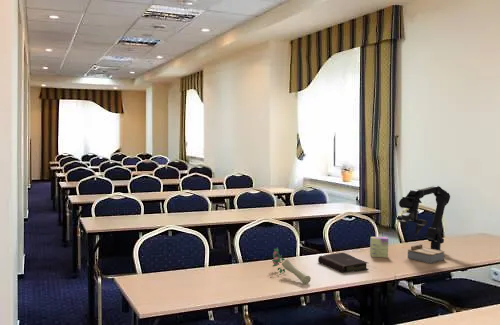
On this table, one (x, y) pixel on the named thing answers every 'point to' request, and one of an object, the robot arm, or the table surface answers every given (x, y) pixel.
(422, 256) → the base
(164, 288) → the table surface
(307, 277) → the flower vase
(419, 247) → the lid
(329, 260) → the diary
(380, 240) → the box
